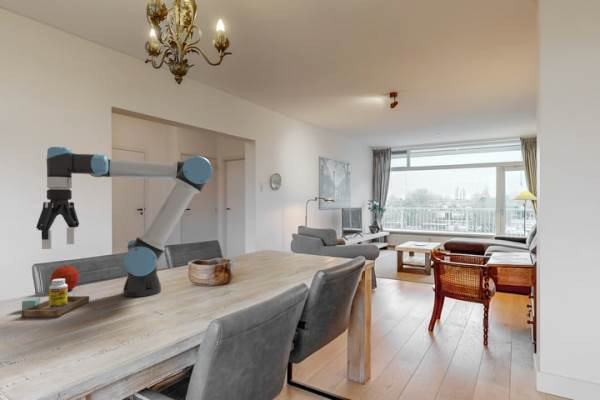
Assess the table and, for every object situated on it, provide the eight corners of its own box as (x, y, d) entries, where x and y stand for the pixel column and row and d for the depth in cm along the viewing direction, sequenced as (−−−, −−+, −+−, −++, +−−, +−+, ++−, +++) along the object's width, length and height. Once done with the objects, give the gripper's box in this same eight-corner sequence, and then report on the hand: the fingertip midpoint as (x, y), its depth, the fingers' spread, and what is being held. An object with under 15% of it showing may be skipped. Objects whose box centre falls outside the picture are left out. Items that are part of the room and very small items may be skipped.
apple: (48, 294, 144) (48, 267, 144) (53, 289, 153) (53, 264, 153) (76, 292, 148) (77, 265, 148) (79, 287, 157) (79, 262, 157)
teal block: (40, 308, 126) (40, 297, 126) (35, 311, 122) (35, 300, 122) (27, 309, 125) (27, 298, 125) (21, 312, 121) (22, 301, 121)
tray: (89, 302, 133) (89, 296, 133) (57, 317, 115) (57, 310, 115) (57, 302, 132) (58, 296, 132) (21, 318, 114) (21, 310, 114)
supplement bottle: (48, 310, 120) (48, 282, 120) (49, 306, 124) (49, 279, 124) (67, 308, 123) (67, 280, 123) (67, 304, 127) (67, 277, 127)
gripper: (70, 190, 137) (70, 242, 137) (23, 187, 112) (23, 251, 112) (89, 190, 138) (89, 242, 138) (46, 187, 113) (46, 250, 113)
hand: (59, 246), depth 125 cm, fingers open, 13 cm apart
